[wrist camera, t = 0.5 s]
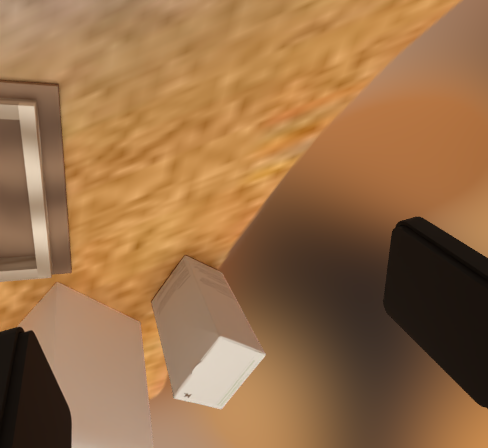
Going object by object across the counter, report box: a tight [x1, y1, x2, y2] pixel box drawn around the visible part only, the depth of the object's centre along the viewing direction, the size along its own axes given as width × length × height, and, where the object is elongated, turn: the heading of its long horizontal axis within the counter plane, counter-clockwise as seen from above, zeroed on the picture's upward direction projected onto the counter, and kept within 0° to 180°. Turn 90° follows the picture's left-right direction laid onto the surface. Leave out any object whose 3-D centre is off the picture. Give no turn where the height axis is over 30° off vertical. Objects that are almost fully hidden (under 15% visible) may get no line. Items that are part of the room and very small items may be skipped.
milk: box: [17, 282, 153, 448], centre depth 39 cm, size 12×12×26 cm
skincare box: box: [151, 255, 266, 409], centre depth 46 cm, size 8×7×16 cm
